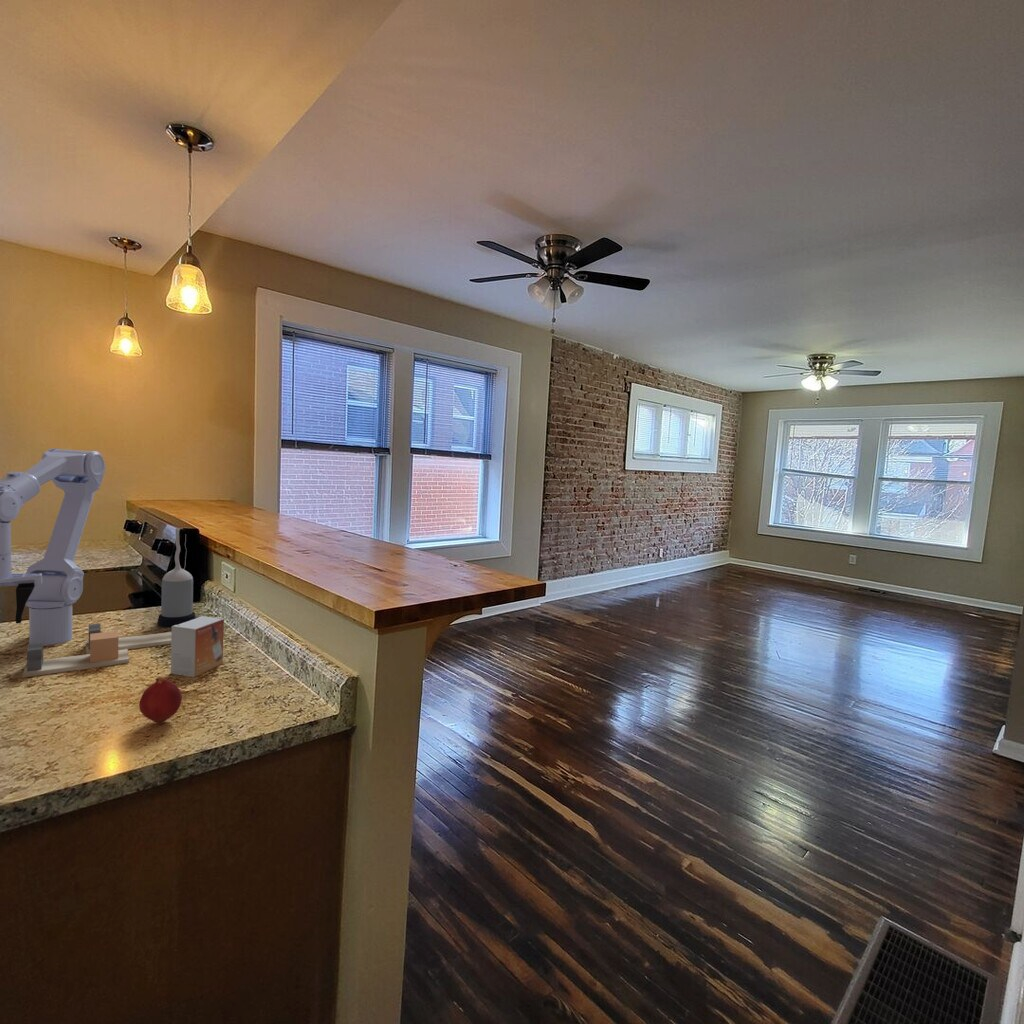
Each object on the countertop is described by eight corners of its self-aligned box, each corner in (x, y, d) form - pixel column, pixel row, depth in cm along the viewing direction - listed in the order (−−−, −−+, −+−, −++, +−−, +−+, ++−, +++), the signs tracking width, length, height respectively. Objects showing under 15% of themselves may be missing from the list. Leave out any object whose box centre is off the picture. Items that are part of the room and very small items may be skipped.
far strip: (85, 645, 116) (85, 623, 116) (172, 635, 126) (172, 615, 126) (85, 654, 111) (85, 632, 111) (175, 643, 121) (175, 622, 121)
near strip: (26, 665, 104) (26, 641, 104) (127, 652, 114) (127, 630, 113) (23, 677, 99) (22, 652, 99) (129, 662, 109) (129, 639, 108)
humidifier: (156, 623, 136) (157, 526, 134) (193, 619, 141) (195, 526, 139) (158, 632, 130) (159, 531, 127) (197, 628, 135) (199, 530, 132)
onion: (152, 713, 91) (153, 668, 90) (188, 714, 91) (189, 669, 91) (131, 731, 85) (131, 682, 84) (169, 732, 86) (170, 683, 85)
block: (90, 655, 109) (90, 633, 109) (117, 651, 112) (117, 630, 112) (90, 662, 106) (90, 640, 105) (118, 658, 108) (118, 637, 108)
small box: (194, 681, 104) (194, 629, 103) (169, 677, 105) (170, 625, 104) (223, 667, 112) (224, 618, 111) (200, 663, 113) (201, 615, 112)
